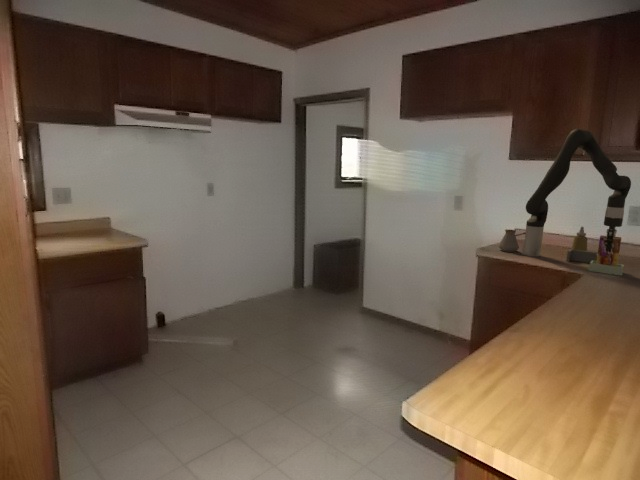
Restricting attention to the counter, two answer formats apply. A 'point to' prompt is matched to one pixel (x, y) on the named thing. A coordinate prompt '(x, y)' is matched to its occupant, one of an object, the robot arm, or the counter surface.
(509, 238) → the coffee pot
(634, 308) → the counter surface
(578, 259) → the bay
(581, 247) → the squeeze bottle
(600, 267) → the tray
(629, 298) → the counter surface
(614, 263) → the candy box
